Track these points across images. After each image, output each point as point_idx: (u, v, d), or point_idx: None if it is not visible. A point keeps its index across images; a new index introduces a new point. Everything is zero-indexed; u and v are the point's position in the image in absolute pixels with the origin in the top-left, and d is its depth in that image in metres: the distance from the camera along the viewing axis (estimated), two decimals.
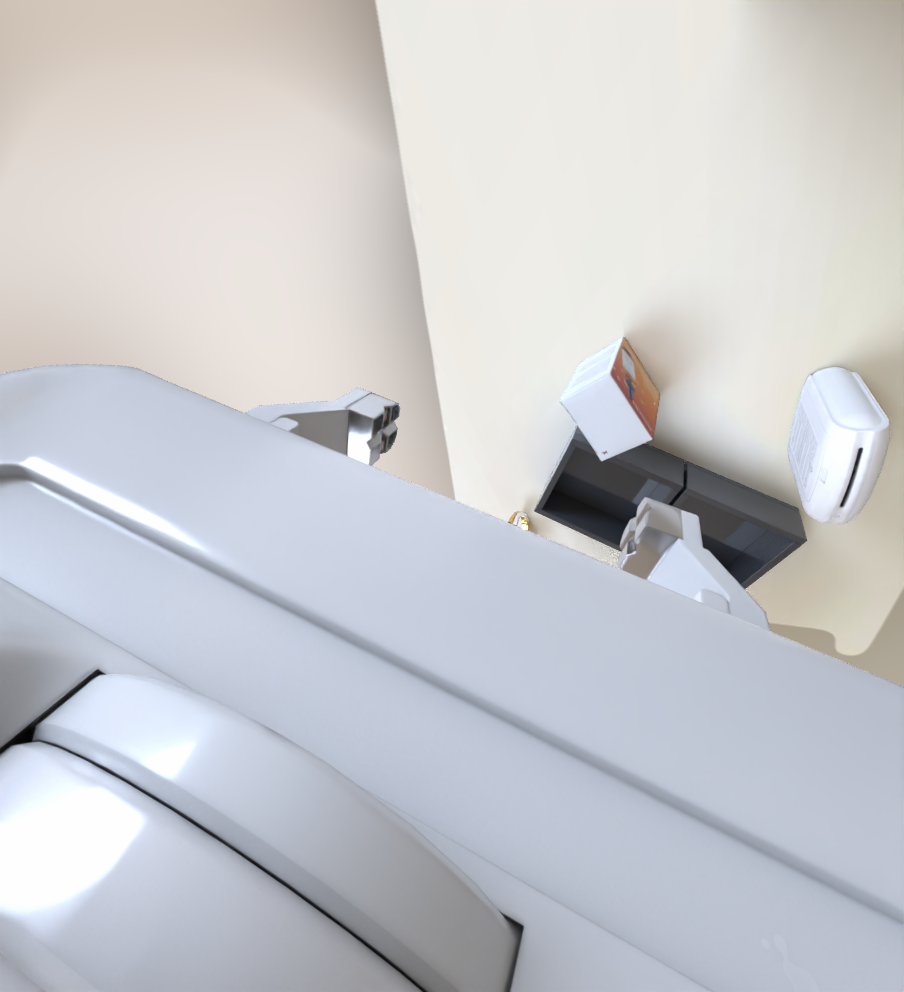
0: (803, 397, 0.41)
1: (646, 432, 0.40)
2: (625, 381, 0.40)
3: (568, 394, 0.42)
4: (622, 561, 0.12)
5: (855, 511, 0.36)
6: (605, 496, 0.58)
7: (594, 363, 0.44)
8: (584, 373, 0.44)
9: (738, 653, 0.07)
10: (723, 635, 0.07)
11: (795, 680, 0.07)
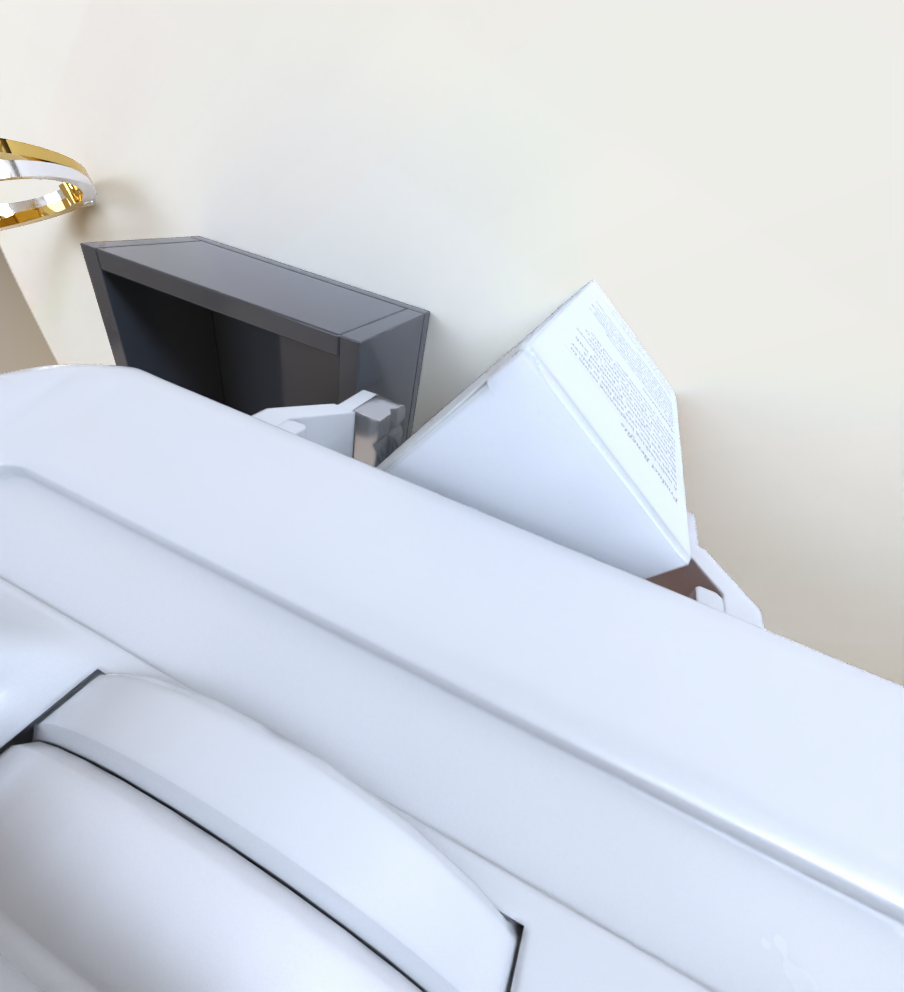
0: None
1: None
2: None
3: (563, 378, 0.08)
4: None
5: None
6: (260, 406, 0.25)
7: (634, 372, 0.13)
8: (611, 361, 0.11)
9: (738, 653, 0.07)
10: (723, 635, 0.07)
11: (795, 680, 0.07)
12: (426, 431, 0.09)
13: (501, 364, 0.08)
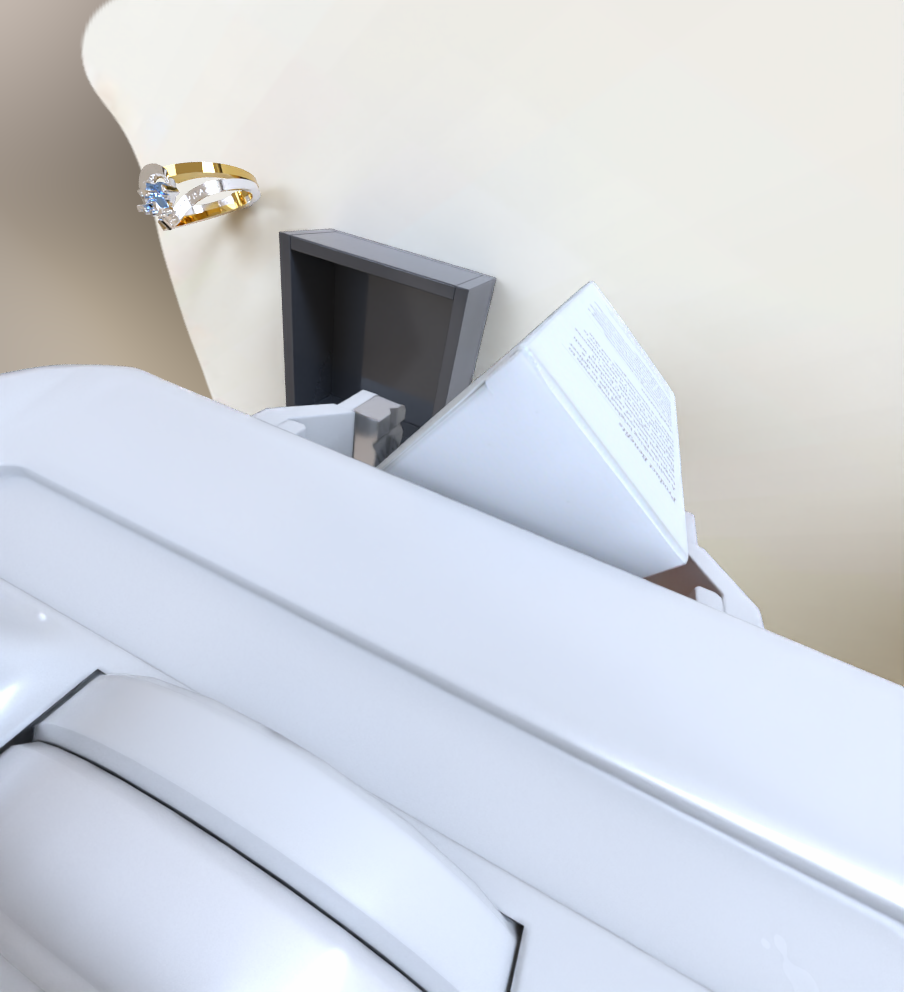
0: None
1: None
2: None
3: (561, 378, 0.08)
4: None
5: None
6: (361, 351, 0.34)
7: (633, 372, 0.13)
8: (610, 361, 0.11)
9: (738, 653, 0.07)
10: (723, 635, 0.07)
11: (795, 680, 0.07)
12: (425, 431, 0.09)
13: (499, 364, 0.08)
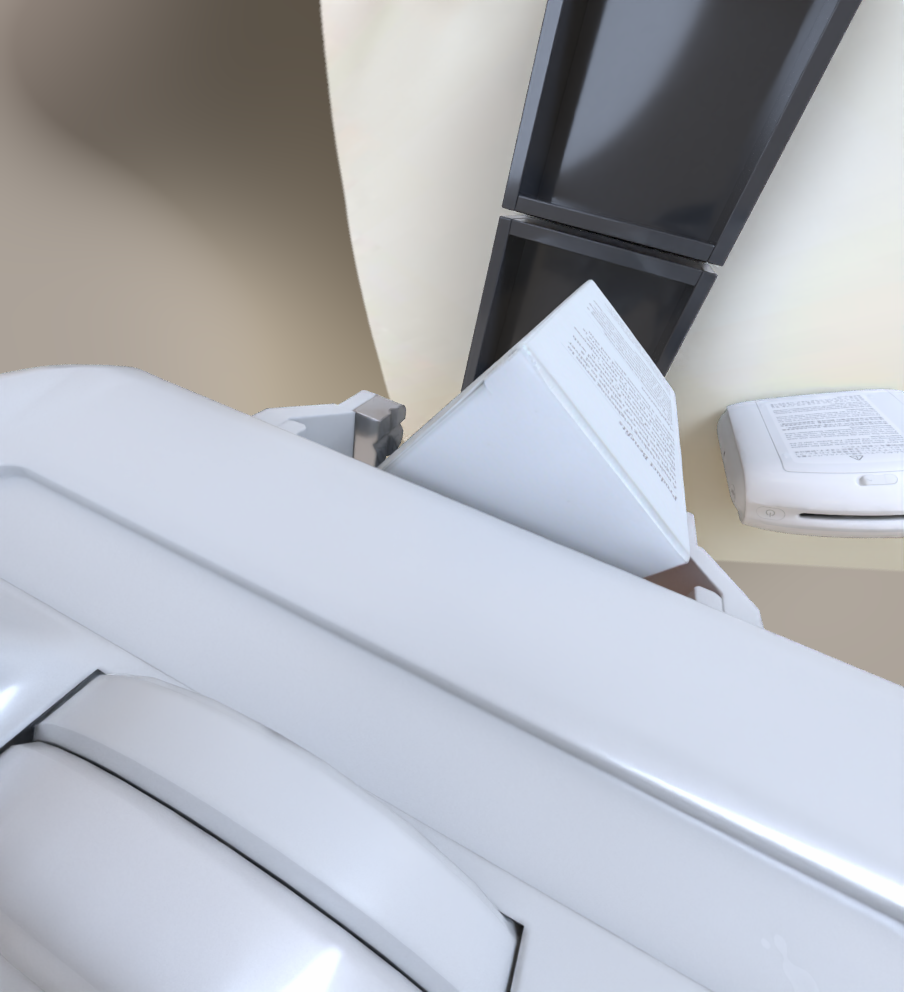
0: (875, 396, 0.26)
1: None
2: None
3: (560, 376, 0.08)
4: None
5: (784, 529, 0.23)
6: (604, 114, 0.25)
7: (633, 371, 0.13)
8: (609, 360, 0.11)
9: (738, 653, 0.07)
10: (724, 635, 0.07)
11: (795, 680, 0.07)
12: (424, 431, 0.09)
13: (498, 364, 0.08)
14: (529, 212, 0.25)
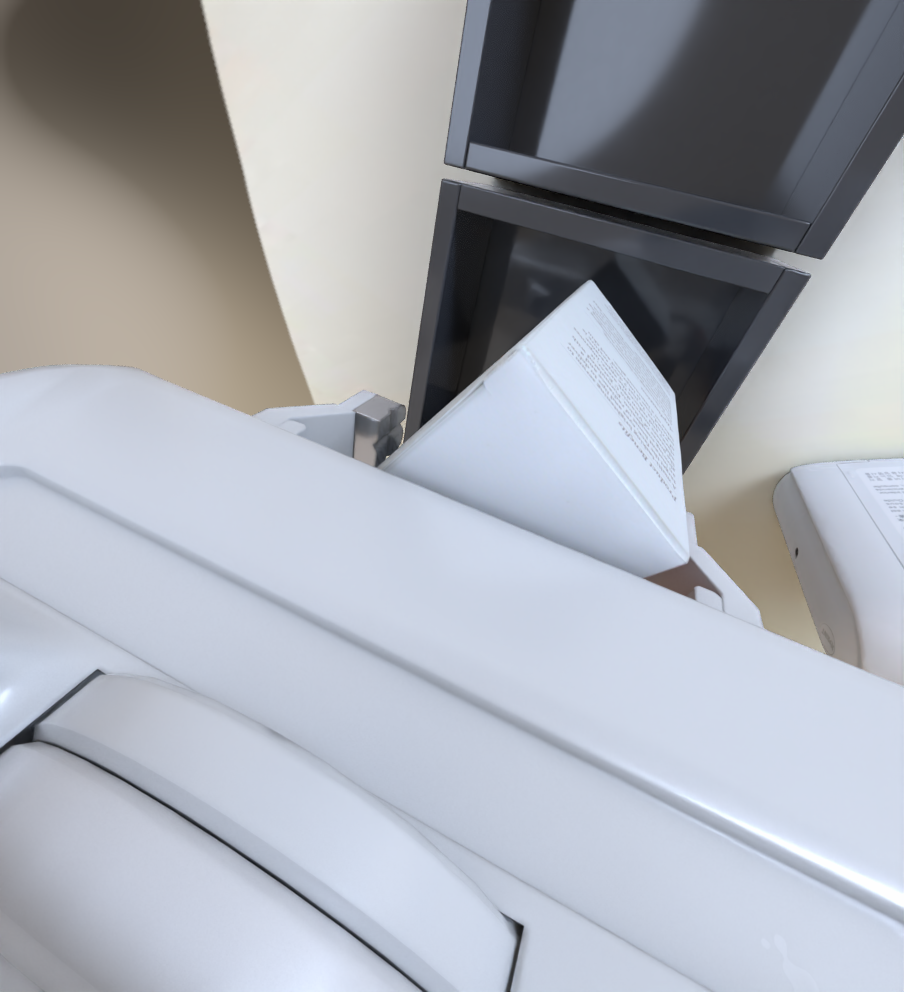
0: None
1: None
2: None
3: (560, 377, 0.08)
4: None
5: None
6: (612, 10, 0.15)
7: (632, 371, 0.13)
8: (609, 360, 0.11)
9: (738, 653, 0.07)
10: (723, 635, 0.07)
11: (795, 680, 0.07)
12: (424, 432, 0.09)
13: (497, 364, 0.08)
14: (488, 171, 0.15)
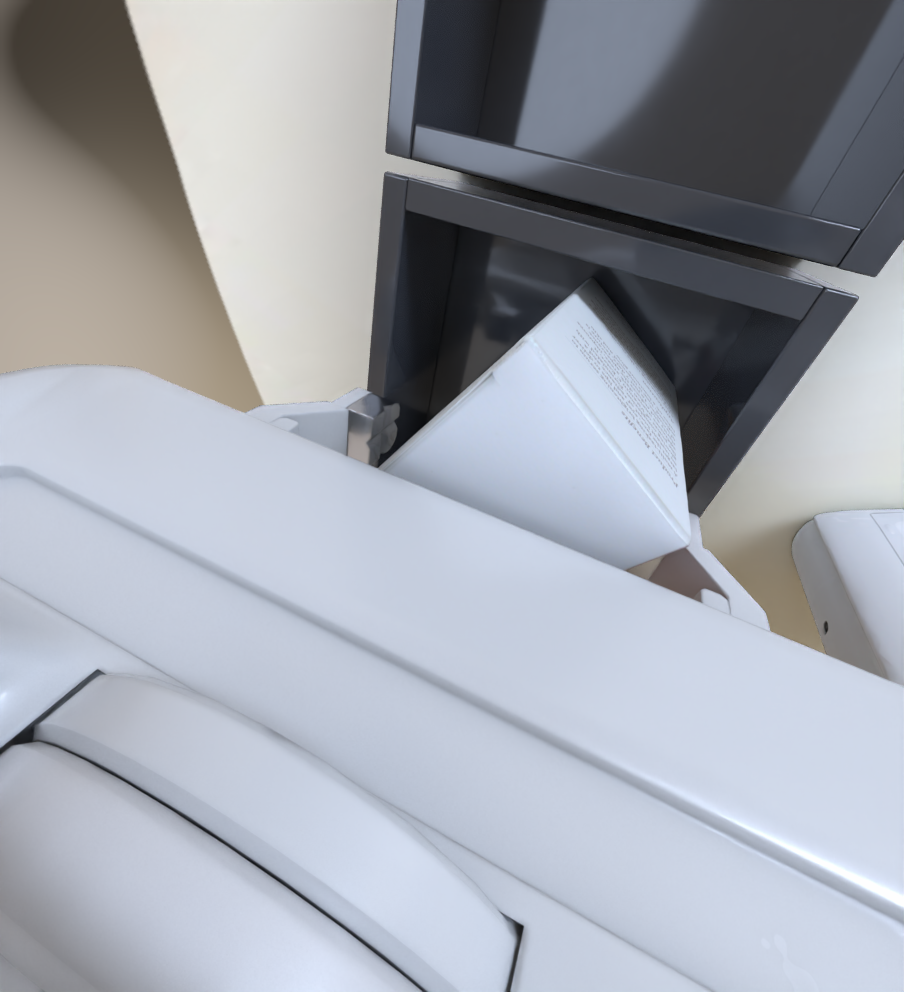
0: None
1: None
2: None
3: (565, 368, 0.08)
4: None
5: None
6: None
7: (634, 365, 0.13)
8: (611, 354, 0.12)
9: (738, 653, 0.07)
10: (724, 635, 0.07)
11: (795, 680, 0.07)
12: (434, 423, 0.10)
13: (506, 356, 0.08)
14: (440, 161, 0.12)
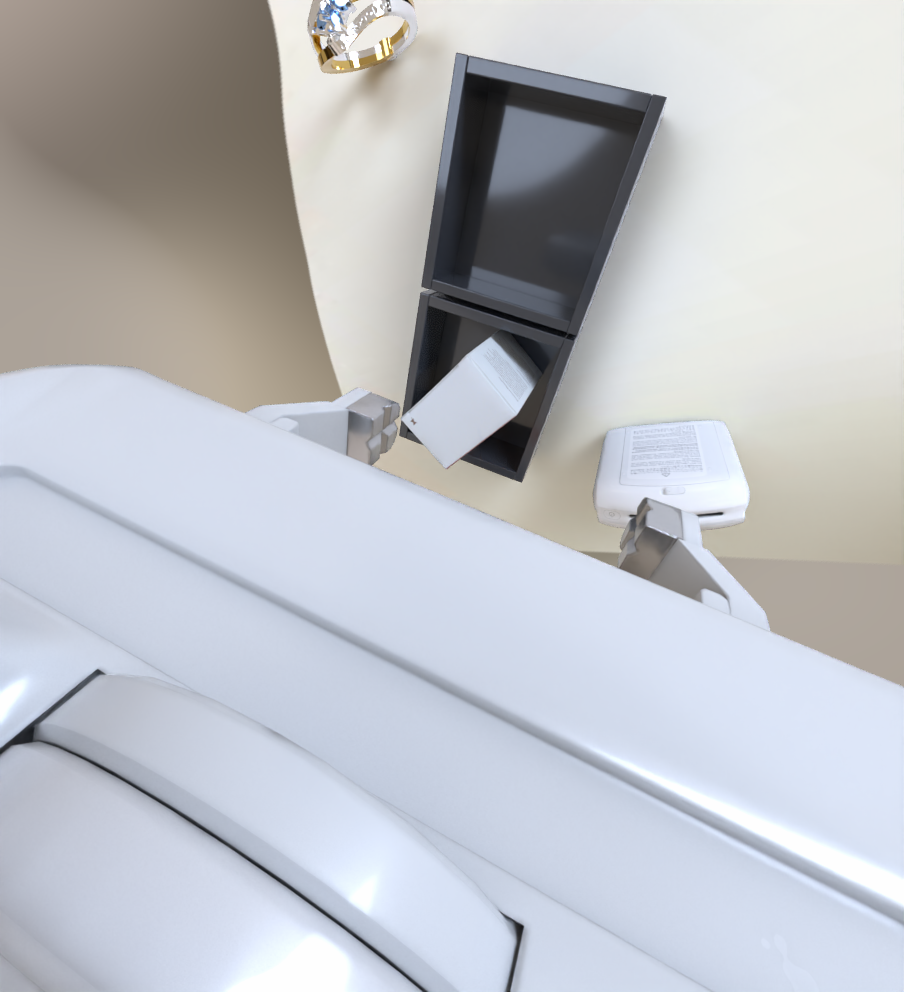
0: (702, 426, 0.35)
1: (452, 462, 0.34)
2: None
3: (478, 363, 0.30)
4: (622, 561, 0.12)
5: (622, 526, 0.31)
6: (497, 217, 0.34)
7: (514, 363, 0.34)
8: (502, 359, 0.33)
9: (738, 653, 0.07)
10: (723, 635, 0.07)
11: (795, 680, 0.07)
12: (441, 381, 0.31)
13: (461, 360, 0.30)
14: (441, 291, 0.33)
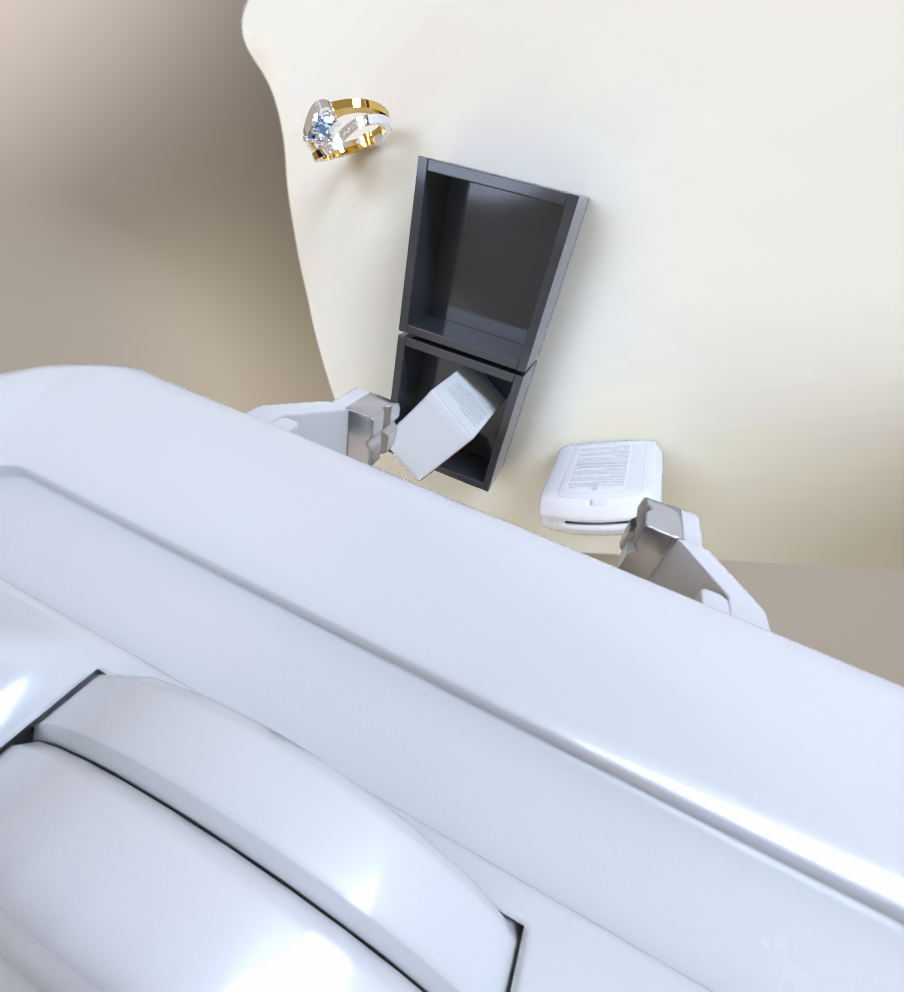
0: (636, 446, 0.41)
1: (424, 475, 0.41)
2: None
3: (441, 397, 0.37)
4: (622, 561, 0.12)
5: (560, 530, 0.38)
6: (462, 272, 0.40)
7: (476, 392, 0.41)
8: (465, 390, 0.40)
9: (738, 653, 0.07)
10: (723, 635, 0.07)
11: (795, 680, 0.07)
12: (412, 410, 0.38)
13: (427, 394, 0.37)
14: (415, 334, 0.40)
